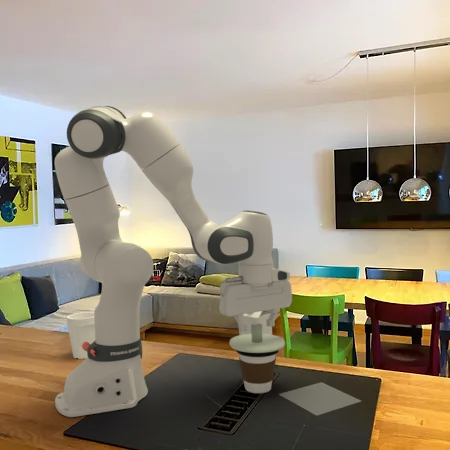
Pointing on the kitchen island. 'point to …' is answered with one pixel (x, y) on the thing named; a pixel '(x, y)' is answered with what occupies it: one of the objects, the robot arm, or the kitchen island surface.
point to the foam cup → (81, 332)
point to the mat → (319, 398)
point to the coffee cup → (257, 370)
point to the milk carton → (256, 321)
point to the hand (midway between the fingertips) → (256, 328)
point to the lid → (257, 341)
